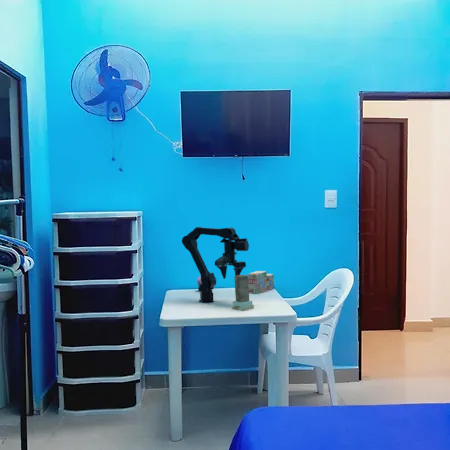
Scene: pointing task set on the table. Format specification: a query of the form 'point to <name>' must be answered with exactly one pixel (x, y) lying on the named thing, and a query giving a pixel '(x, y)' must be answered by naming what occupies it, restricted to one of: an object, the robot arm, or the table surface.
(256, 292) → the stack of blocks
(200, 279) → the cupcake
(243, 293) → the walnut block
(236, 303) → the green slab
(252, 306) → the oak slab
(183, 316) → the table surface
